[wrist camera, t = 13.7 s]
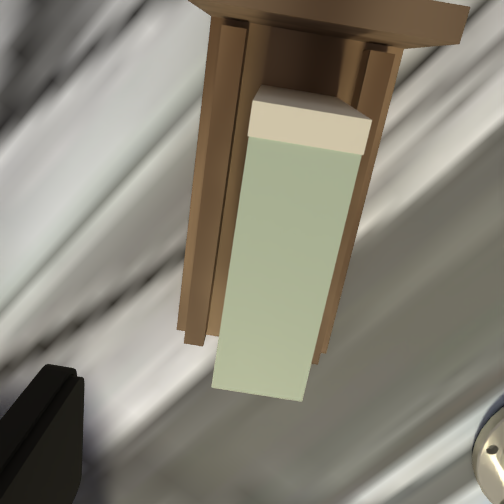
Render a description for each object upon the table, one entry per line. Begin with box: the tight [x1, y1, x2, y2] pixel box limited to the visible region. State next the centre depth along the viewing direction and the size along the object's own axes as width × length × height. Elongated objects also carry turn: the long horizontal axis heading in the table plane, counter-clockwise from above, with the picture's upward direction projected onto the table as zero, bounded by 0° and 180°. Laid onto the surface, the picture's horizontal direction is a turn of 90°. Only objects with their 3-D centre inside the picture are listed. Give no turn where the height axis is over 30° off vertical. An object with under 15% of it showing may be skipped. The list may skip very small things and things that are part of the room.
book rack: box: [177, 0, 470, 365], centre depth 25 cm, size 10×20×10 cm, turn 171°
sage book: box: [212, 85, 372, 402], centre depth 23 cm, size 4×12×10 cm, turn 171°
